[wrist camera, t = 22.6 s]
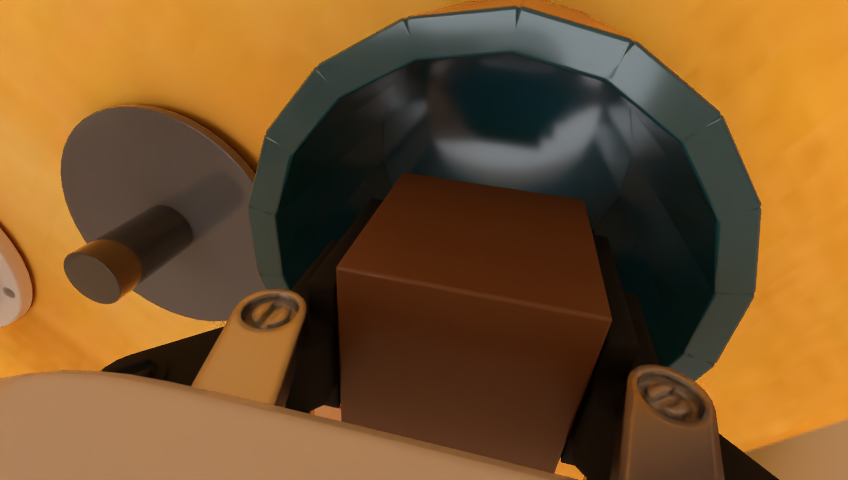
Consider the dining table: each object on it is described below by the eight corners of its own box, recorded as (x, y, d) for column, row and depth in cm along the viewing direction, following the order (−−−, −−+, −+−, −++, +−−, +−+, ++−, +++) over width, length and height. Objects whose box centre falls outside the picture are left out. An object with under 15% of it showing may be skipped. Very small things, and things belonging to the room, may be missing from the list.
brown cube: (395, 309, 13) (340, 436, 9) (402, 170, 11) (334, 266, 7) (545, 339, 13) (549, 488, 9) (585, 198, 10) (614, 320, 7)
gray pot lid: (80, 250, 28) (-24, 310, 23) (78, 53, 21) (-71, 75, 16) (263, 340, 29) (203, 419, 24) (318, 176, 22) (250, 236, 17)
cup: (336, 200, 22) (215, 331, 14) (437, -67, 16) (325, -126, 7) (545, 307, 23) (551, 496, 14) (724, 88, 16) (928, 198, 8)
